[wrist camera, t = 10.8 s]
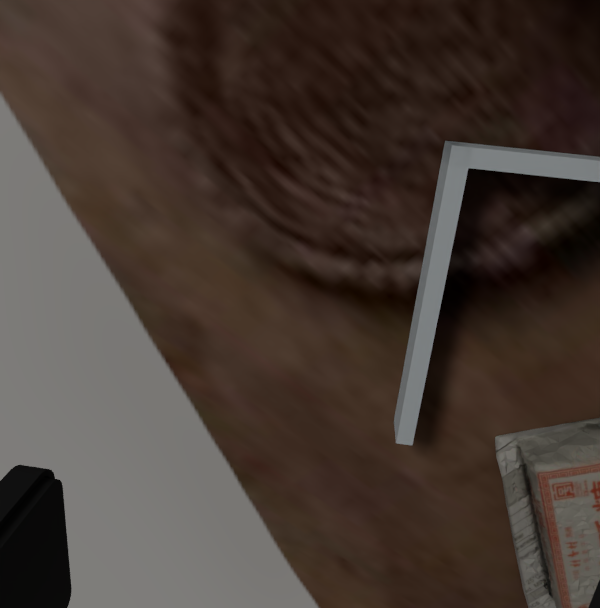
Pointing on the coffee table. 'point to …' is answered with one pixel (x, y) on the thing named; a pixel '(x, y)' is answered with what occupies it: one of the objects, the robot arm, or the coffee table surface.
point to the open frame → (441, 243)
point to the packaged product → (554, 510)
